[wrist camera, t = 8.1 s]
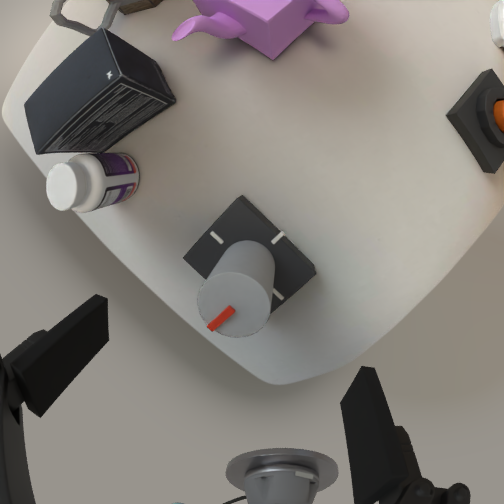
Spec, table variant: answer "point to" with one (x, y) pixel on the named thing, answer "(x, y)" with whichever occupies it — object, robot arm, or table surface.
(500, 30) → the joystick
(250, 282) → the temp dial
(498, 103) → the button
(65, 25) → the mug
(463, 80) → the table surface
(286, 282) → the dial panel
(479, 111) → the switch block
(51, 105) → the small box
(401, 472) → the robot arm
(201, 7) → the teapot
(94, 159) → the pill bottle
